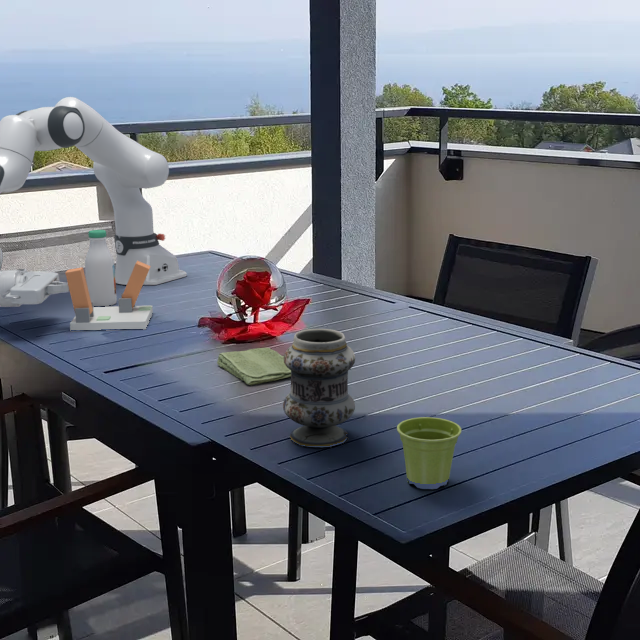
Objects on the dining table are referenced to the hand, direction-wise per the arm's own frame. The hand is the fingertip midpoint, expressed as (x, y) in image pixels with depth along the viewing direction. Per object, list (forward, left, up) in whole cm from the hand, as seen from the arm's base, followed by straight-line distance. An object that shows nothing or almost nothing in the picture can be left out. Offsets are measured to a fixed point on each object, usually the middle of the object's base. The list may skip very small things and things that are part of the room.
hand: (70, 287), depth 220 cm
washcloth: (-7, +59, -11) cm, 60 cm away
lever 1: (-2, +2, -7) cm, 7 cm away
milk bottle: (-19, -15, -10) cm, 26 cm away
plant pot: (+13, +117, -10) cm, 118 cm away
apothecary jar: (+11, +93, -10) cm, 94 cm away
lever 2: (-15, +2, -7) cm, 16 cm away
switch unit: (-10, +3, -10) cm, 14 cm away
